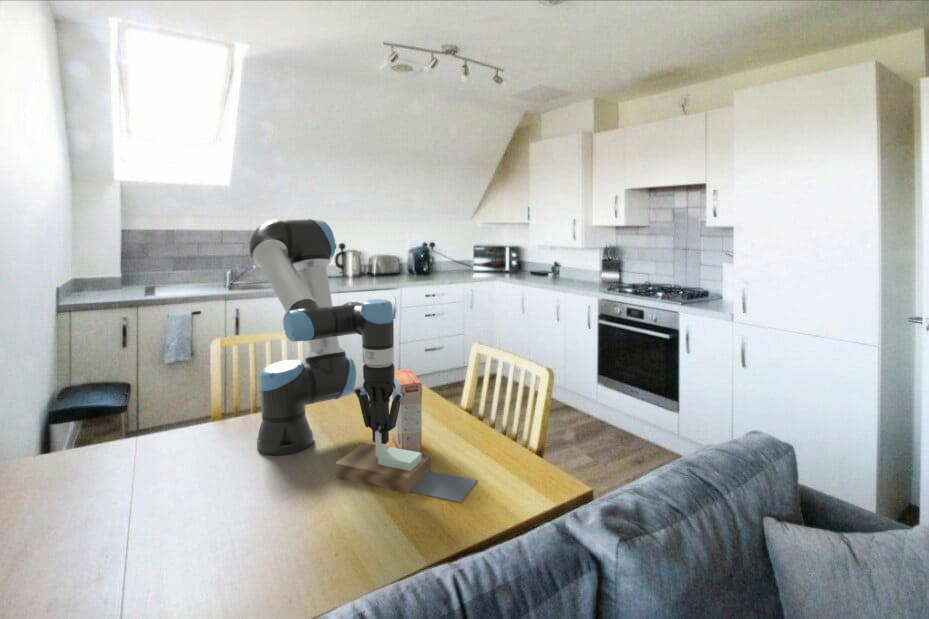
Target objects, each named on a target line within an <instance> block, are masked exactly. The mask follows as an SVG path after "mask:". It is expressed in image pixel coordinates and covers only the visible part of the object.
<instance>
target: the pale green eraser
mask: <svg viewBox="0 0 929 619" xmlns="http://www.w3.org/2000/svg"><path fill="white" fill-rule="evenodd" d="M422 454H423V453H419V452H414V451H408V450H403V449H398V448H397V447H391V446H389V448H388V449H387V450H386V451H384V452H383V453H382V454H381V455H379V456H378V464H379V465H384V466H389V467H393V468H398V469H403V470H408V471H411V470H412V469H413V468H414V467H415V466H416V465H417V464H418V463H420V462H421V461H422Z"/></svg>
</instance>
